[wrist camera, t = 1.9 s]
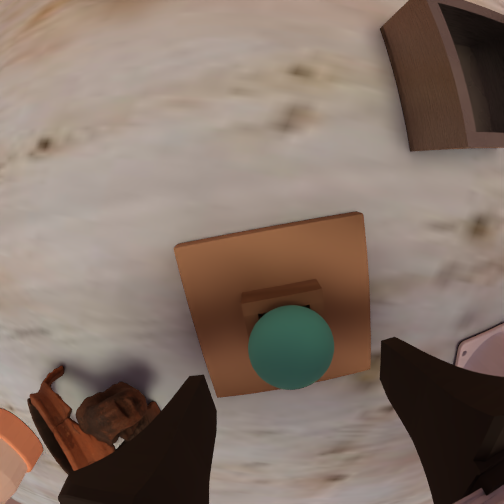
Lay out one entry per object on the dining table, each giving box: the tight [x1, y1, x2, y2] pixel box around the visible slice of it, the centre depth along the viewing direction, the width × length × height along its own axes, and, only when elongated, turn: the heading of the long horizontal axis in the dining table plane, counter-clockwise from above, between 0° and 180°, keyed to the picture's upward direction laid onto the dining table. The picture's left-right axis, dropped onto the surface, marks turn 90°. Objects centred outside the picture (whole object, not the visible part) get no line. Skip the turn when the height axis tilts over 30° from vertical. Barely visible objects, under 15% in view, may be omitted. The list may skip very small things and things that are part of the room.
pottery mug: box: [27, 366, 160, 475], centre depth 17 cm, size 12×10×8 cm
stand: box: [174, 212, 371, 398], centre depth 16 cm, size 10×10×2 cm
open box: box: [380, 0, 504, 152], centre depth 11 cm, size 8×8×6 cm
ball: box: [248, 305, 334, 390], centre depth 14 cm, size 4×4×4 cm
